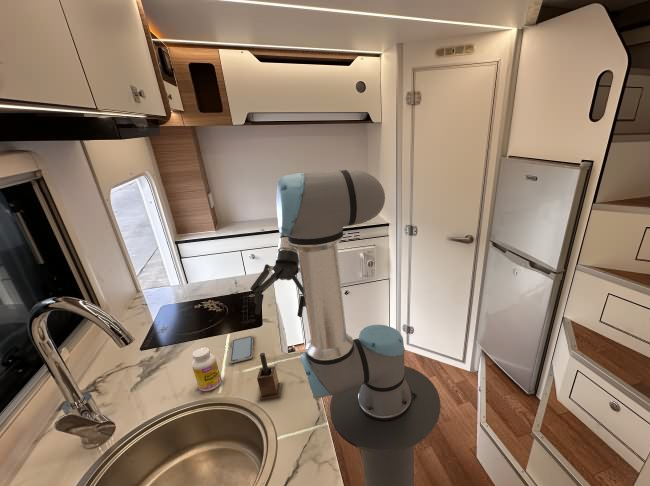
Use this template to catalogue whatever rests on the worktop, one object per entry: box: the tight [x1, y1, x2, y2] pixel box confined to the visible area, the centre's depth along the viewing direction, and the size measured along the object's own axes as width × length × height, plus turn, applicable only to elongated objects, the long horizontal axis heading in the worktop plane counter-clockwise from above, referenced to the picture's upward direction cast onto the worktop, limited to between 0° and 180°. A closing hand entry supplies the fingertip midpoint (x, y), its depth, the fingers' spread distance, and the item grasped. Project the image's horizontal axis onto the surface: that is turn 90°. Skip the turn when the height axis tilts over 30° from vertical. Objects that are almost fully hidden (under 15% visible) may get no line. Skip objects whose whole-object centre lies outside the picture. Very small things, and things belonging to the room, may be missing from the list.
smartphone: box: [229, 335, 254, 364], centre depth 119 cm, size 7×1×15 cm
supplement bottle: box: [191, 347, 222, 392], centre depth 100 cm, size 7×7×13 cm
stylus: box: [259, 352, 269, 376], centre depth 95 cm, size 1×1×14 cm
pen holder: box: [256, 365, 282, 402], centre depth 96 cm, size 6×6×8 cm
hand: (278, 315), depth 100 cm, fingers open, 13 cm apart
